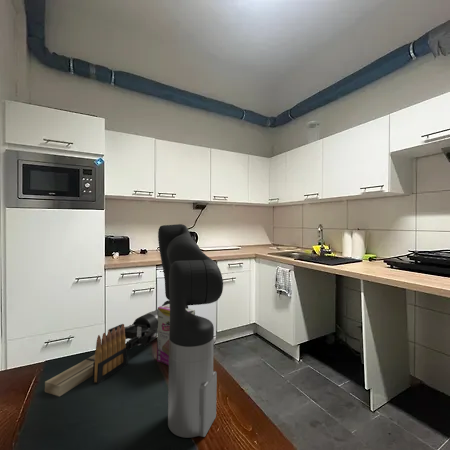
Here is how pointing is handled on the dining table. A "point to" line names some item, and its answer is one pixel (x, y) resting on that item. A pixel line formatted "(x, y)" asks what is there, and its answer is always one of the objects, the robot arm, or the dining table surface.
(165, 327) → the candy bar box
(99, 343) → the ammunition clip
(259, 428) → the dining table surface
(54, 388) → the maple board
